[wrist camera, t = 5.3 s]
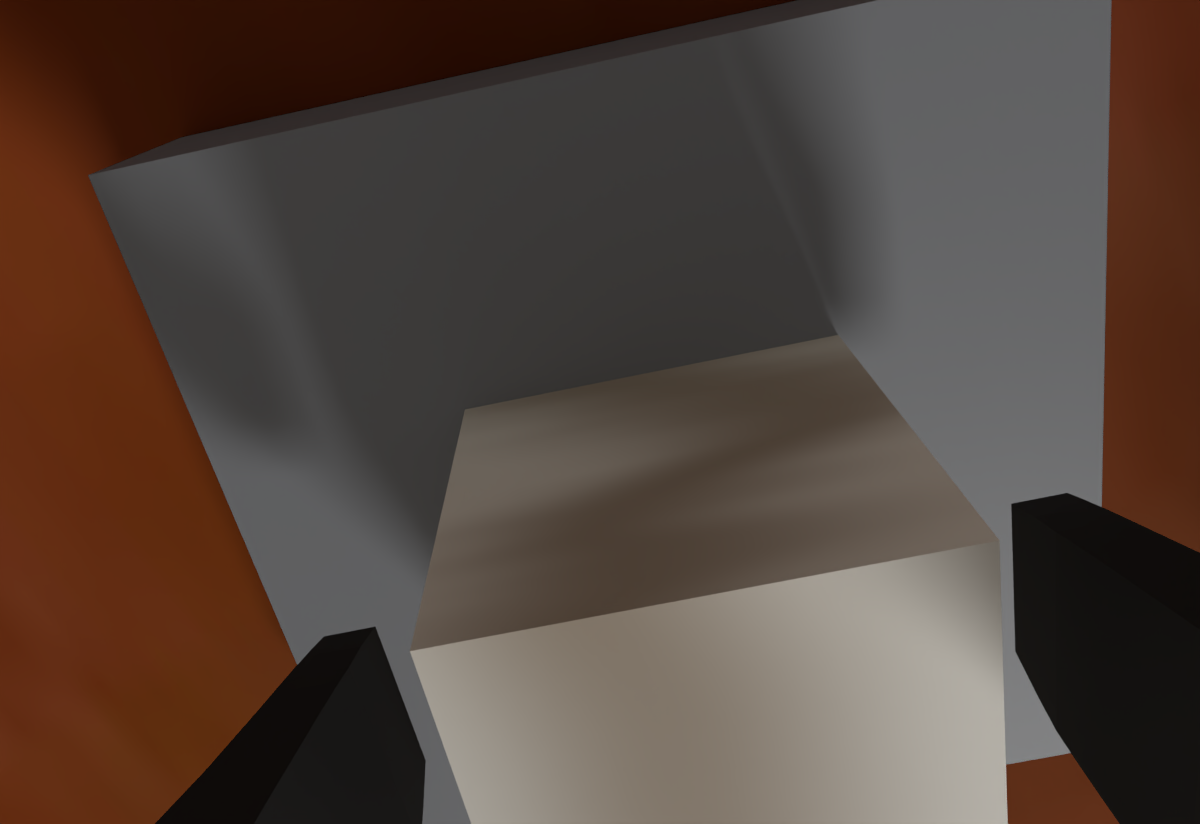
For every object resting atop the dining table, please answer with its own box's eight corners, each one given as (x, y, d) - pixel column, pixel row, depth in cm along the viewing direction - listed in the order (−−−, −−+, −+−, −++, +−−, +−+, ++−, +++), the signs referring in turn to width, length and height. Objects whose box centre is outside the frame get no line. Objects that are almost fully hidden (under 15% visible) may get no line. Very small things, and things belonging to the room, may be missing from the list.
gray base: (998, -45, 13) (1112, -52, 11) (1016, 633, 18) (1096, 748, 15) (181, 137, 14) (87, 175, 11) (412, 746, 19) (387, 875, 16)
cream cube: (837, 335, 12) (999, 539, 8) (869, 638, 14) (1011, 942, 10) (464, 409, 13) (409, 651, 8) (547, 697, 15) (541, 1019, 10)
